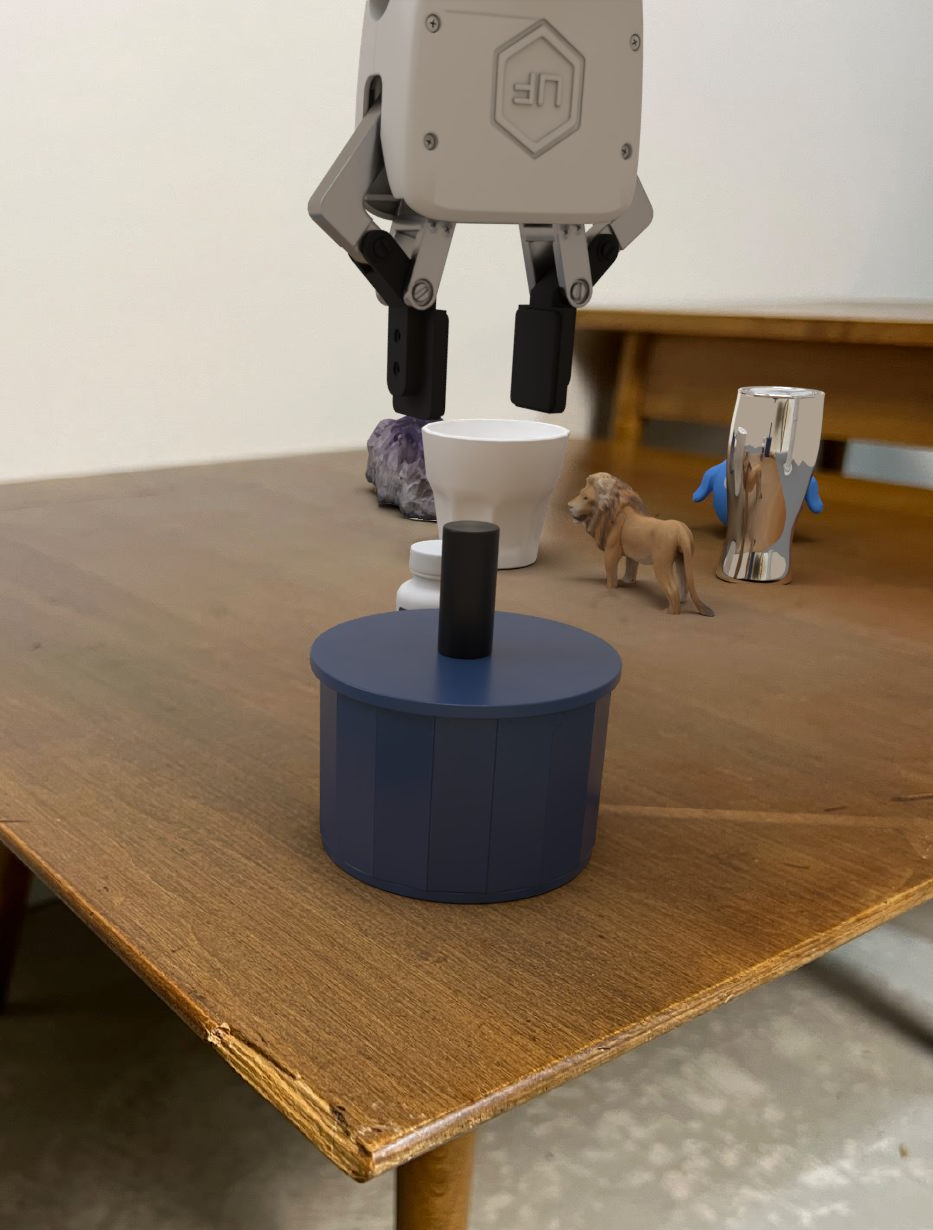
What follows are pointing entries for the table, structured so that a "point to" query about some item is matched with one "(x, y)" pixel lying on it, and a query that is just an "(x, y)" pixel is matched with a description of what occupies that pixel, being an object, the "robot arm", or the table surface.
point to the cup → (496, 478)
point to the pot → (459, 799)
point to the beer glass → (768, 480)
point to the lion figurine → (637, 538)
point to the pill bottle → (422, 577)
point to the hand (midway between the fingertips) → (478, 407)
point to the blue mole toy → (717, 484)
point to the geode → (401, 467)
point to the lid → (466, 648)
